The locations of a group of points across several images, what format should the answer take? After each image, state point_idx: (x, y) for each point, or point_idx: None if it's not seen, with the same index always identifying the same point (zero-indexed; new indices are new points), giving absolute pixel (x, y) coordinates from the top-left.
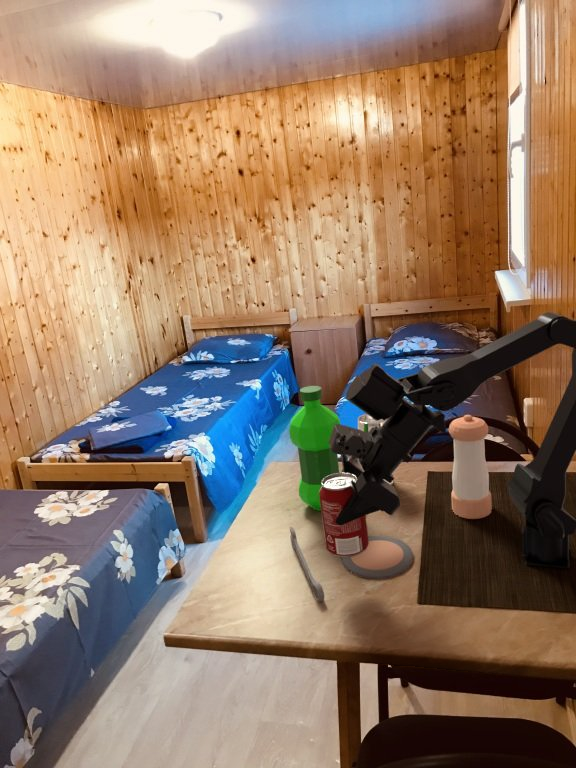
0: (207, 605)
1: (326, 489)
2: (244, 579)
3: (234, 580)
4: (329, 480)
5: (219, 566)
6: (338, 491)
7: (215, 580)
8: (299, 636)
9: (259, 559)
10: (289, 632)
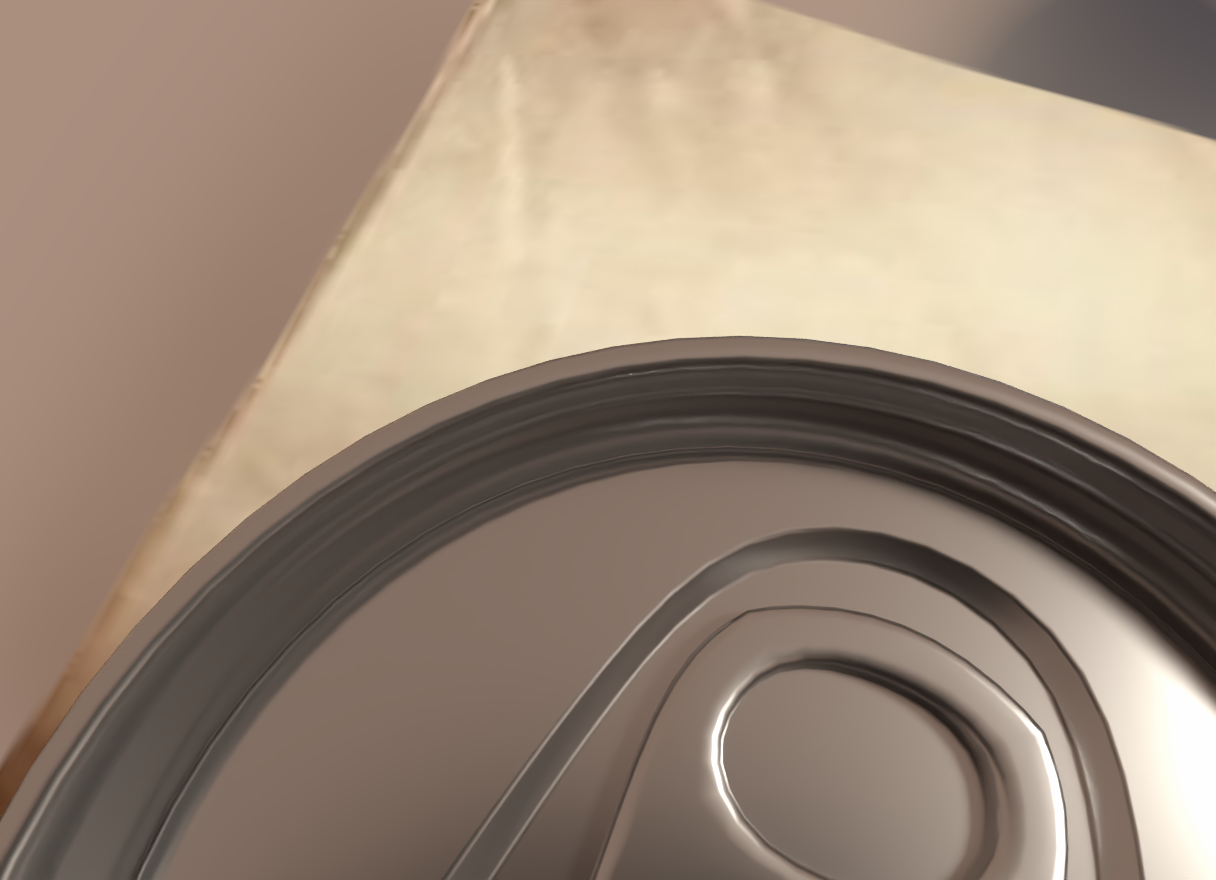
0: (688, 56)
1: (448, 459)
2: (867, 220)
3: (870, 174)
4: (1117, 709)
5: (1025, 114)
6: (98, 845)
7: (893, 93)
8: (274, 423)
9: (1062, 312)
10: (327, 381)
